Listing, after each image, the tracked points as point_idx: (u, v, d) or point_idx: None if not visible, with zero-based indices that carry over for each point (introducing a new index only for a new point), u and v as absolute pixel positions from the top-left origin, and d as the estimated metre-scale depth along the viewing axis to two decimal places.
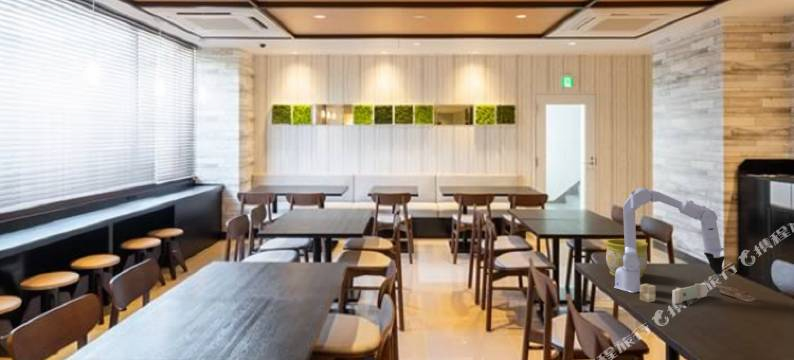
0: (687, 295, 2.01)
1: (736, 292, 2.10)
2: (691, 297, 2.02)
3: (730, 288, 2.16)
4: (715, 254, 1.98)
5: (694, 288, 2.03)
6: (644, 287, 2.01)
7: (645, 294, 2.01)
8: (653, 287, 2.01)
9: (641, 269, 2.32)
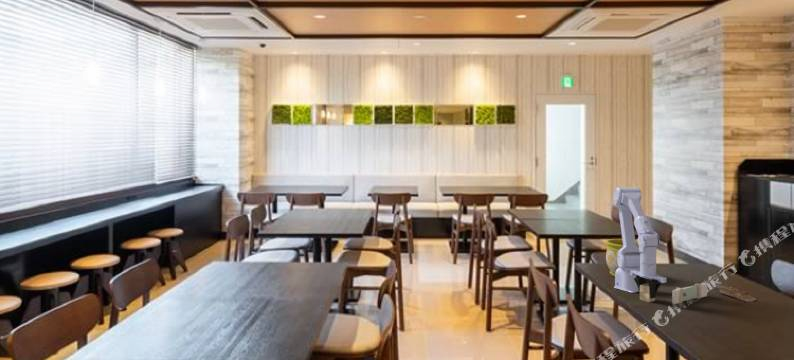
0: (687, 295, 2.01)
1: (736, 292, 2.10)
2: (691, 297, 2.02)
3: (730, 288, 2.16)
4: None
5: (694, 288, 2.03)
6: (644, 287, 2.01)
7: (645, 294, 2.01)
8: None
9: None
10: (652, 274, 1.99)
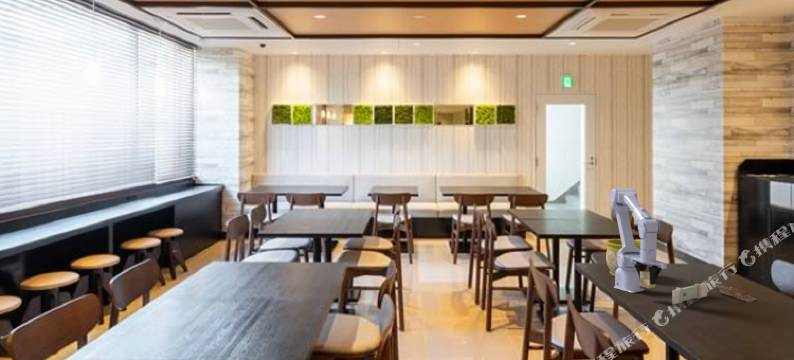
0: (687, 295, 2.01)
1: (736, 292, 2.10)
2: (691, 297, 2.02)
3: (730, 288, 2.16)
4: None
5: (694, 288, 2.03)
6: (644, 273, 2.01)
7: (645, 280, 2.01)
8: None
9: None
10: (652, 260, 1.99)
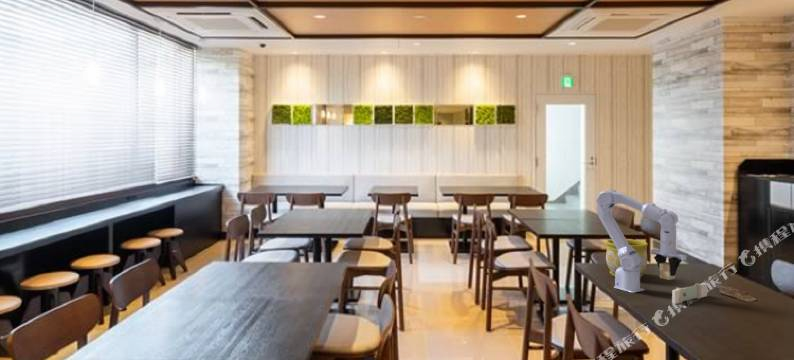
0: (687, 295, 2.01)
1: (736, 292, 2.10)
2: (691, 297, 2.02)
3: (730, 288, 2.16)
4: None
5: (694, 288, 2.03)
6: (664, 265, 2.06)
7: (665, 272, 2.06)
8: None
9: (641, 269, 2.32)
10: (672, 252, 2.04)
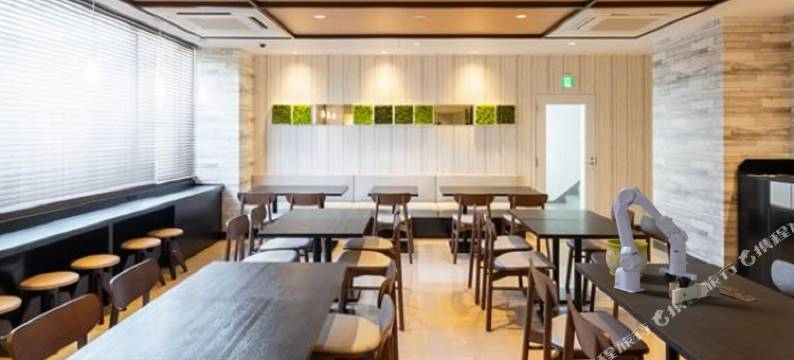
0: (687, 295, 2.01)
1: (736, 292, 2.10)
2: (691, 297, 2.02)
3: (730, 288, 2.16)
4: None
5: (694, 288, 2.03)
6: (673, 285, 2.04)
7: None
8: None
9: (641, 269, 2.32)
10: (682, 271, 2.02)
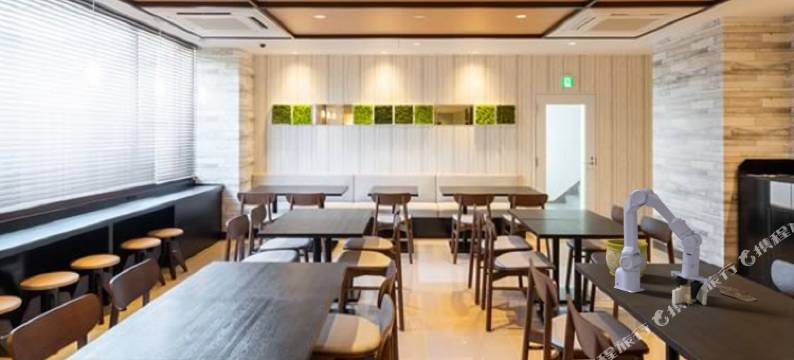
0: None
1: (736, 292, 2.10)
2: None
3: (730, 288, 2.16)
4: None
5: None
6: (684, 288, 2.00)
7: (685, 295, 1.99)
8: None
9: (641, 269, 2.32)
10: (695, 275, 1.97)
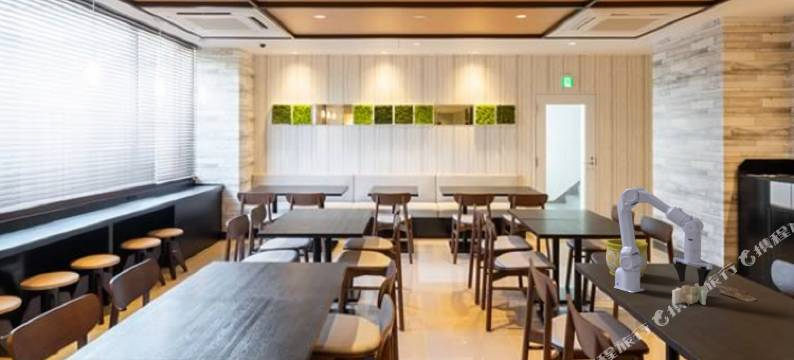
0: None
1: (736, 292, 2.10)
2: None
3: (730, 288, 2.16)
4: None
5: None
6: (686, 288, 1.99)
7: (687, 295, 1.99)
8: (696, 288, 1.98)
9: (641, 269, 2.32)
10: (697, 261, 1.96)
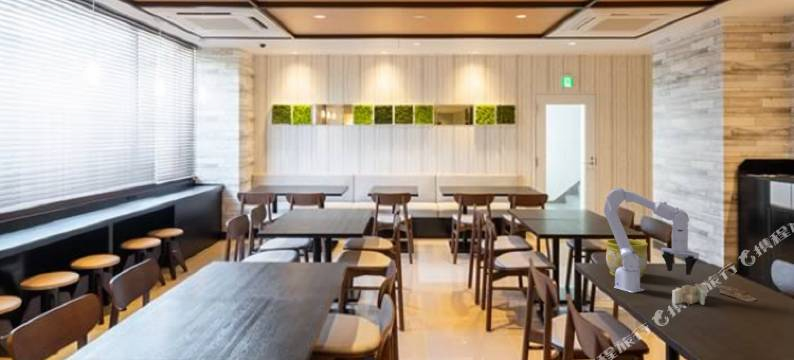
0: None
1: (736, 292, 2.10)
2: None
3: (730, 288, 2.16)
4: None
5: None
6: (686, 288, 1.99)
7: (687, 295, 1.99)
8: (696, 288, 1.98)
9: (641, 269, 2.32)
10: (684, 250, 2.05)
